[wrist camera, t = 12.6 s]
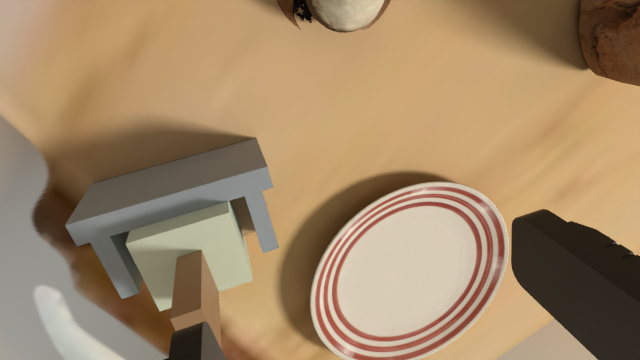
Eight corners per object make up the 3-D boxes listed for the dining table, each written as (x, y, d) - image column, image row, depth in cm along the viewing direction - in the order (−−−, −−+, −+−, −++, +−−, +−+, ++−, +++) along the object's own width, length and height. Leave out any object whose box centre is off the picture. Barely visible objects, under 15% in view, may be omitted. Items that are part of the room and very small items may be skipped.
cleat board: (91, 183, 37) (64, 225, 30) (256, 137, 40) (267, 166, 33) (126, 251, 41) (109, 302, 34) (275, 205, 43) (289, 244, 36)
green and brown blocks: (137, 208, 35) (104, 305, 24) (225, 182, 36) (235, 263, 25) (165, 269, 38) (149, 381, 27) (246, 243, 39) (263, 341, 28)
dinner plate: (463, 130, 46) (480, 138, 43) (515, 281, 59) (532, 295, 56) (261, 254, 45) (265, 271, 43) (358, 379, 58) (367, 399, 55)
